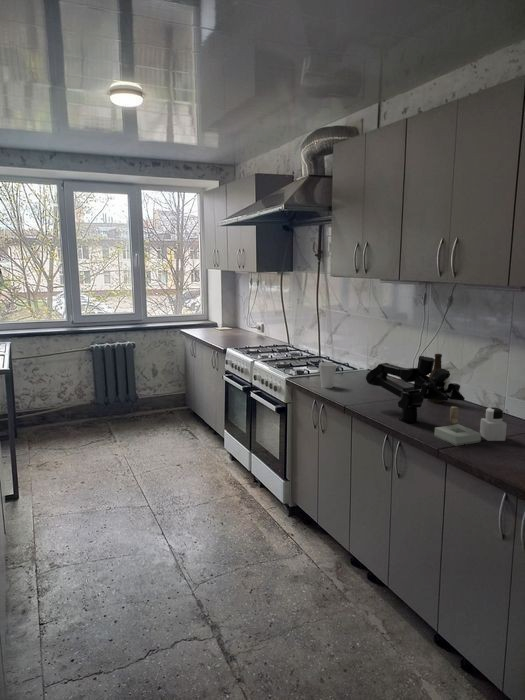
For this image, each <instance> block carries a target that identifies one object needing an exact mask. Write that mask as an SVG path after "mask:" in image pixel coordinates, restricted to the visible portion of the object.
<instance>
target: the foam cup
mask: <svg viewBox="0 0 525 700" xmlns="http://www.w3.org/2000/svg"><path fill="white" fill-rule="evenodd" d="M318 368H319V375H320V384H321V385H320V386H321V388H323V389H332V388H333V387H334V383H335V377H336V370H337V363H335V362H330V361H329V362H327V361H326V362H319V364H318Z"/></svg>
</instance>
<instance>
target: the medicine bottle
mask: <svg viewBox="0 0 525 700" xmlns="http://www.w3.org/2000/svg"><path fill="white" fill-rule="evenodd" d="M503 414H504V411H503V410H502V409H501V408H499V407H488V408H486V409H485V417H483V418H480V427H479V433H481V438H483V439H484V440H486V441H488V442H505V441H506V435H507V426H508V425H507V422H505V421H503V416H504V415H503Z"/></svg>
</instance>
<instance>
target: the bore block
mask: <svg viewBox="0 0 525 700" xmlns="http://www.w3.org/2000/svg"><path fill="white" fill-rule="evenodd" d="M434 437H435V438H437V439H440V440H442V441H444V442H446V441H447V443H448V442H449V444H450V443H451V445H452V446H455V447H458V446H465V445H470V444H476V443H481V442H482V436H481V433H480V431H479V432H478V431H477V430H473V429H471V428H469V427H467V426H463V425H462V424H459V423H458V424H457V425H450V426H449V425H446V426H443V425H442V426H437V427H434ZM464 444H465V445H464Z"/></svg>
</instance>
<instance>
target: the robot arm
mask: <svg viewBox="0 0 525 700" xmlns="http://www.w3.org/2000/svg"><path fill="white" fill-rule="evenodd" d="M434 361H435V357H429V356H424V355H420V356H419V357H418V363H417V367H402V366H398V365H394V364H390V363H388V362H383V363H379V364H377V366H375V367H374V368H372V369H371V370H370V371H369V372H368V373H367V374H366V376H365V379H366V382H367V383H368V385H371V386H377V387H381V388H383V389H385V390H386V391H388V392H389V393H392V394H393V395H395V396H397V397H398V398H399V399H400V400H399V401H398V402H397V405H398V408H399V409H400V408H401V417H400V418H398V420H399V421H401V422H404V423H406V424H414V423H420V420H419V419H418V408H421V407H422V404H423V403H424V399H425V400H428V399H432V400H443V401H448V400H452V401H462V402H463V401H465V397H464V395H462V393H461V392H460V389H461V385H460V384H458V383H455V382H454V383H453V382H452V383H449V384H448V385H447V388H445V386H446V382H445V381H446V380H447V379H449V378H450V376H451V373H450V370H448V369H446V368H442V369H440V368H439V369H437V370H436V371H435V372H434V374H433V375H432V378H430V377H429V376H430V373H432V370H433V368H434ZM388 375H392V376H395V377H399V379H400V380H401V381H403V382H405V383H413V384H412V385H413V386H411V387H404V386H402V385H400V384H399V383H397V382H395V381H393V380H391V379H389V378H388Z"/></svg>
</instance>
